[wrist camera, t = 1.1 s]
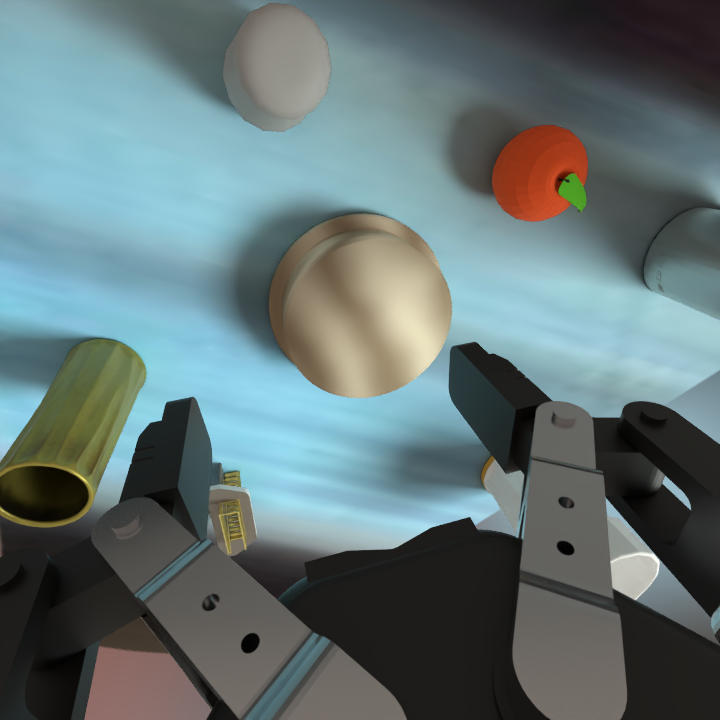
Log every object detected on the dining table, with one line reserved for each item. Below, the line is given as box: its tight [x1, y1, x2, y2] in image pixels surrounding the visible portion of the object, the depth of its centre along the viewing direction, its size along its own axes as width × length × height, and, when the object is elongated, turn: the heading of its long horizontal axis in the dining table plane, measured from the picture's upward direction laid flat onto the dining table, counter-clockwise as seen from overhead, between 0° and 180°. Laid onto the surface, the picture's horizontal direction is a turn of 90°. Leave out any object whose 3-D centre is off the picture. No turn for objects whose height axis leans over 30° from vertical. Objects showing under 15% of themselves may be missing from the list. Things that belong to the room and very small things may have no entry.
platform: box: [209, 463, 257, 556], centre depth 44 cm, size 12×18×7 cm, turn 0°
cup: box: [481, 456, 659, 600], centre depth 48 cm, size 11×11×17 cm
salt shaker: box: [223, 3, 331, 132], centre depth 23 cm, size 6×6×13 cm
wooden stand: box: [269, 213, 452, 398], centre depth 36 cm, size 16×16×5 cm
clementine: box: [492, 125, 588, 222], centre depth 33 cm, size 8×7×7 cm
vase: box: [0, 339, 146, 527], centre depth 30 cm, size 6×6×14 cm
